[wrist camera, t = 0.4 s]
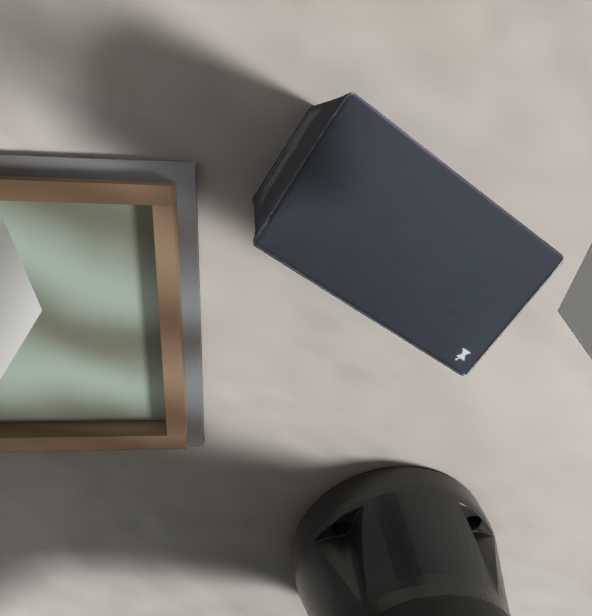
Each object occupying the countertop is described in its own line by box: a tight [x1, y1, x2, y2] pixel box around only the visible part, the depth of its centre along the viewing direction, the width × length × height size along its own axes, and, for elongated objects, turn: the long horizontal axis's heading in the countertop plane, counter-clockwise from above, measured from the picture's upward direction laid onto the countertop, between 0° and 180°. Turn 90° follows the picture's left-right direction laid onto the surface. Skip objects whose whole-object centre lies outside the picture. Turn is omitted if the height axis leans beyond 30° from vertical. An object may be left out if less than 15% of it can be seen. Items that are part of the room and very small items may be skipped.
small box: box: [253, 92, 564, 376], centre depth 22 cm, size 11×6×10 cm, turn 56°
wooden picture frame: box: [0, 154, 204, 452], centre depth 26 cm, size 18×18×2 cm
